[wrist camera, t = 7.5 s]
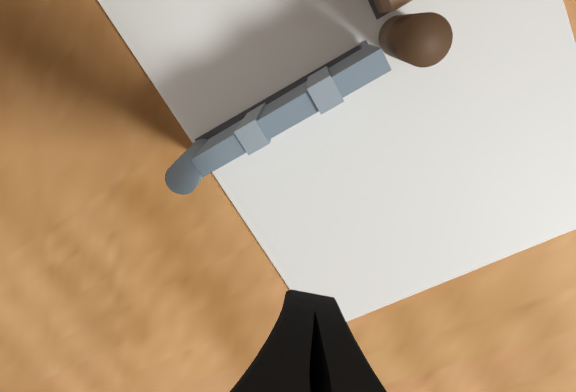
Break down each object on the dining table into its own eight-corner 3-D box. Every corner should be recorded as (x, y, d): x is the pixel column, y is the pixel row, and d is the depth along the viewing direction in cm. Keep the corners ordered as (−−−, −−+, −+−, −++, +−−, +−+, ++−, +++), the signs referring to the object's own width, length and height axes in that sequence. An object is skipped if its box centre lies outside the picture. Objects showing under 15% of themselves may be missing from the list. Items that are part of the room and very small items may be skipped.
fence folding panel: (201, 168, 19) (177, 199, 16) (185, 146, 18) (158, 173, 15) (379, 66, 17) (396, 76, 13) (366, 39, 16) (380, 43, 13)
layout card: (619, 206, 19) (624, 210, 19) (318, 329, 23) (318, 333, 23) (458, -339, 13) (462, -349, 12) (72, -42, 16) (67, -44, 16)
